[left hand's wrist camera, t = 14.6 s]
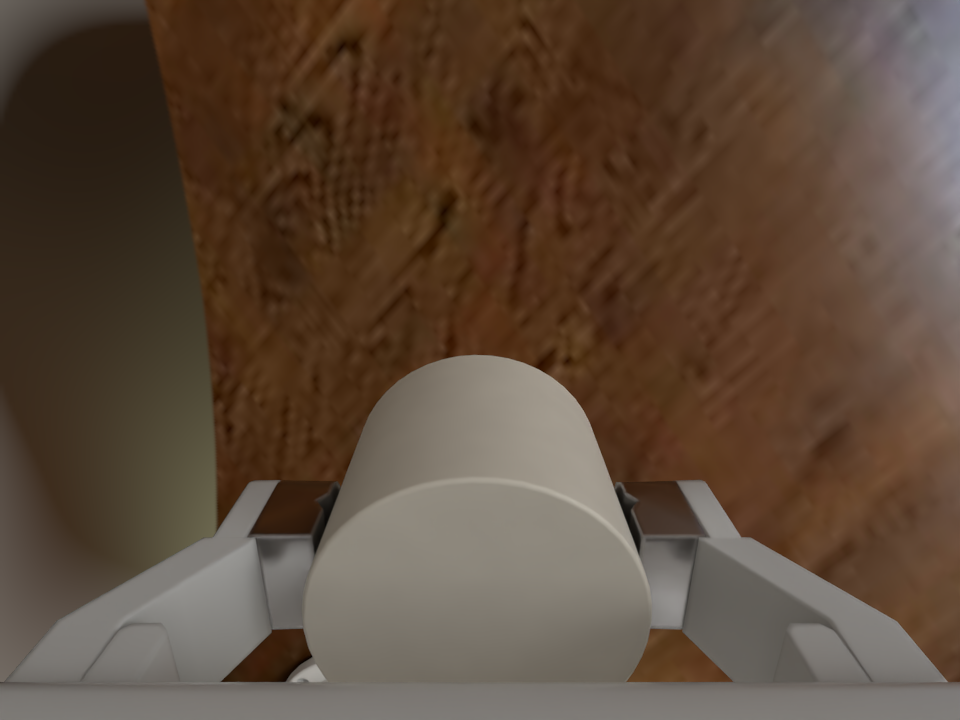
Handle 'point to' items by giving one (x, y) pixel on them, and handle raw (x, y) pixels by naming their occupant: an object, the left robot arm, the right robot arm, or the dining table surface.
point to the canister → (477, 540)
